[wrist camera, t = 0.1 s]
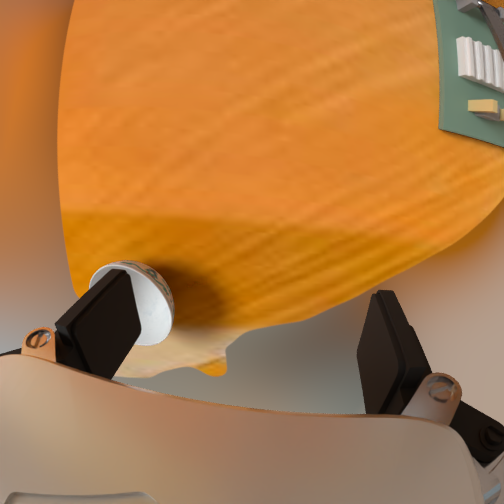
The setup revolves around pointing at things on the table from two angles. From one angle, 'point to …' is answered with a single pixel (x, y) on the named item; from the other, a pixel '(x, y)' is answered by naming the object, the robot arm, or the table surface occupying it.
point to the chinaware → (146, 299)
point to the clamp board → (469, 72)
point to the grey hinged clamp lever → (493, 24)
